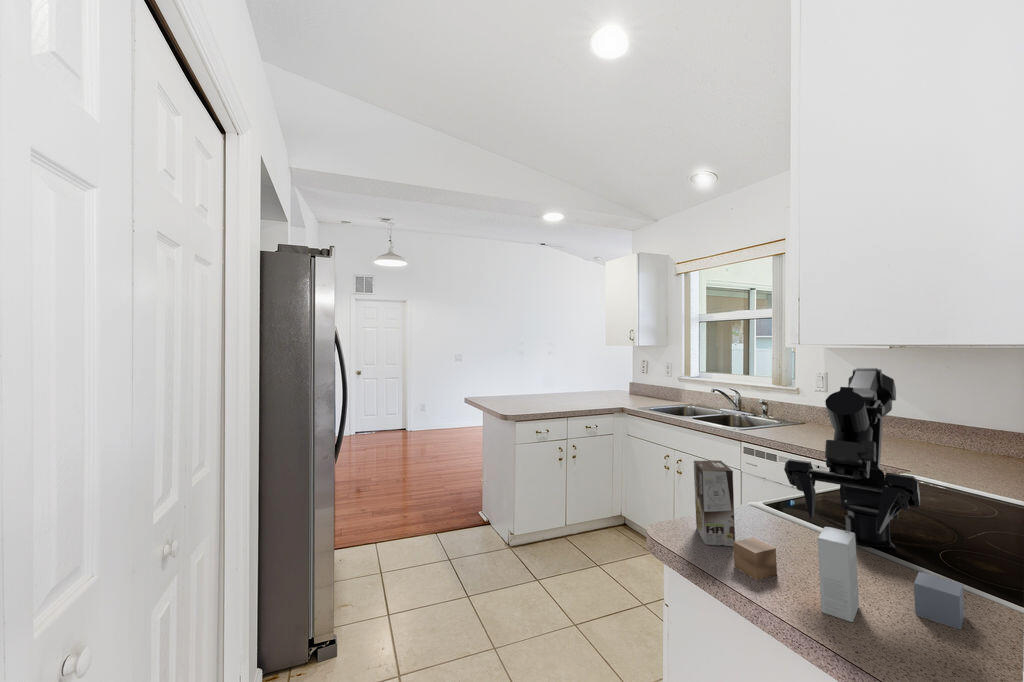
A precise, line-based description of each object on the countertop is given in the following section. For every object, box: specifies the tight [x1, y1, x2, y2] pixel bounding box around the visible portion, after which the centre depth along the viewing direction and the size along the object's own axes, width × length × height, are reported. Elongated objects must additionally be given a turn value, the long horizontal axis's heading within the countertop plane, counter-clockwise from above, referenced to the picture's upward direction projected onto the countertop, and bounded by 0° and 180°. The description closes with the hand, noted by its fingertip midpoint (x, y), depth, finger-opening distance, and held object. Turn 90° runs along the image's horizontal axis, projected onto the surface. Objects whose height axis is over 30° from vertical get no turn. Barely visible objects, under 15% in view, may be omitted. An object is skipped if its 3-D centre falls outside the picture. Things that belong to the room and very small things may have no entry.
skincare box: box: [817, 526, 860, 623], centre depth 70 cm, size 6×4×12 cm
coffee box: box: [693, 459, 736, 547], centre depth 97 cm, size 9×6×16 cm
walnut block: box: [733, 537, 778, 581], centre depth 82 cm, size 5×5×5 cm
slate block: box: [913, 571, 965, 630], centre depth 68 cm, size 5×5×5 cm
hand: (842, 524), depth 74 cm, fingers open, 9 cm apart
